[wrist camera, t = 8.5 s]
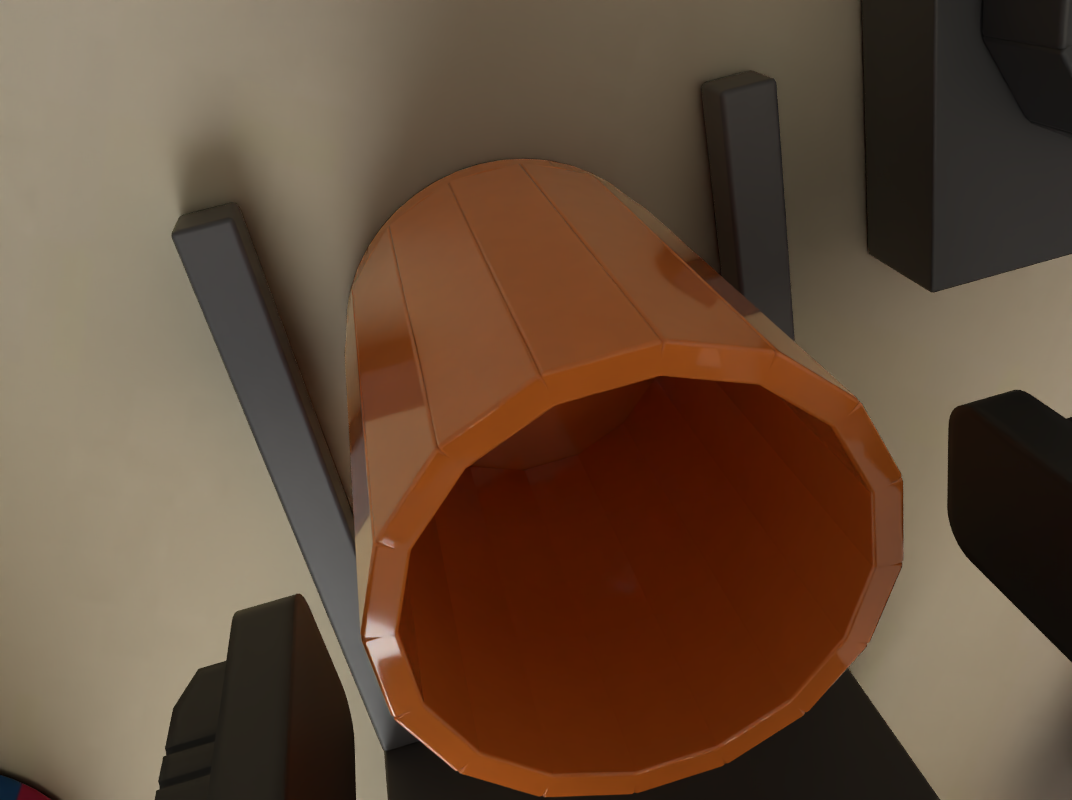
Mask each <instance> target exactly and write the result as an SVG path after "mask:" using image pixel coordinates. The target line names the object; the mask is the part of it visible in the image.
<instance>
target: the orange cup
mask: <svg viewBox="0 0 1072 800" xmlns="http://www.w3.org/2000/svg"><path fill="white" fill-rule="evenodd" d="M344 353H345V371H346V388H347V406H348V424H349V442H350V459H351V477H352V495H353V512H354V530H355V548H356V565H357V583H358V601H359V618H360V634H361V641H362V644H363V646H364V649H365V651H366V654H367V656H368V659H369V661H370V664H371V666H372V669H373V672H374V674H375V677H376V679H377V682H378V684H379V687H380V689H381V692H382V694H383V697H384V699H385V702H386V704H387V707H388V709H389V712H390V714H391V715H392V717H394V720H395V721H396V722H397V723H399V724H400V725H401V726H402V727H403V728H405V729H406V730H407V731H408V732H409V733H411V734H412V735H413V736H414V737H415V738H417V739H418V740H419V741H420V742H421V743H423V744H424V745H425V746H426V747H427V748H429V749H430V750H431V751H432V752H433V753H435V754H436V755H437V756H438V757H439V758H441V759H442V760H443V761H444V762H445V763H447V764H448V765H449V766H450V767H451V768H453V769H454V770H455V771H458V772H459V773H461V774H464V775H467V776H470V777H474V778H477V779H481V780H484V781H487V782H491V783H494V784H497V785H501V786H504V787H508V788H511V789H514V790H518V791H521V792H525V793H528V794H531V795H535V796H538V797H541V796H543V797H574V796H602V795H630V794H633V793H634V792H635V793H641V792H644V791H647V790H650V789H653V788H656V787H659V786H662V785H666V784H669V783H672V782H675V781H678V780H681V779H684V778H688V777H691V776H694V775H697V774H700V773H703V772H706V771H709V770H713V769H716V768H719V767H722V766H724V764H725V763H726V764H728V763H730V762H732V761H733V760H735V759H736V758H738V757H740V756H741V755H743V754H744V753H746V752H747V751H749V750H751V749H752V748H754V747H755V746H757V745H758V744H760V743H762V742H763V741H765V740H766V739H768V738H769V737H771V736H773V735H774V734H776V733H777V732H779V731H780V730H782V729H784V728H785V727H787V726H788V725H790V724H791V723H793V722H795V721H796V720H798V719H799V718H801V717H802V716H804V715H805V712H808V711H810V709H811V708H812V707H813V706H814V705H815V704H816V703H817V702H818V701H819V699H820V698H821V697H822V696H823V695H824V694H825V693H826V692H827V690H828V689H829V688H830V687H831V686H832V685H833V684H834V683H835V681H836V680H837V679H838V678H839V677H840V676H841V675H842V674H843V673H844V671H845V670H846V669H847V668H848V667H849V666H850V665H851V664H852V662H853V661H854V660H855V659H856V658H857V657H858V656H859V655H860V654H861V652H862V651H863V650H864V649H865V648H866V647H867V643H869V642H870V640H871V638H872V635H873V633H874V631H875V628H876V626H877V624H878V621H879V619H880V617H881V614H882V612H883V610H884V607H885V605H886V603H887V600H888V598H889V596H890V593H891V591H892V589H893V586H894V584H895V582H896V579H897V577H898V575H899V572H900V570H901V568H902V562H903V560H904V550H903V479H902V478H901V477H902V476H901V472H900V471H899V469H898V467H897V465H896V463H895V462H894V460H893V458H892V456H891V454H890V453H889V451H888V449H887V447H886V445H885V444H884V442H883V440H882V438H881V437H880V435H879V433H878V431H877V429H876V428H875V426H874V424H873V422H872V420H871V419H870V417H869V415H868V413H867V412H866V410H865V408H864V406H863V404H862V403H861V402H860V401H859V400H858V399H857V398H856V397H855V396H854V395H853V394H852V393H851V392H850V391H848V390H847V389H846V388H845V387H844V386H843V385H842V384H841V383H840V382H838V381H837V380H836V379H835V378H834V377H833V376H832V375H831V374H830V373H828V372H827V371H826V370H825V369H824V368H823V367H822V366H821V365H820V364H818V363H817V362H816V361H815V360H814V359H813V358H812V357H811V356H810V355H808V354H807V353H806V352H805V351H804V350H803V349H802V348H801V347H800V346H798V345H797V344H796V343H795V342H794V341H793V340H792V339H791V338H790V337H788V336H787V335H786V334H785V333H784V332H783V331H782V330H781V329H780V328H778V327H777V326H776V325H775V324H774V323H773V322H772V321H771V320H770V319H768V318H767V317H766V316H765V315H764V314H763V313H762V312H761V311H759V310H758V309H757V308H756V307H755V306H754V305H753V304H752V303H751V302H749V301H748V300H747V299H746V298H745V297H744V296H743V295H742V294H741V293H739V292H738V291H737V290H736V289H735V288H734V287H733V286H732V285H731V284H729V283H728V282H727V281H726V280H725V279H724V278H723V277H722V276H721V275H719V274H718V273H717V272H716V271H715V270H714V269H713V268H712V267H711V266H709V265H708V264H707V263H706V262H705V261H704V260H703V259H702V258H701V257H699V256H698V255H697V254H696V253H695V252H694V251H693V250H692V249H691V248H689V247H688V246H687V245H686V244H685V243H684V242H683V241H682V240H681V239H679V238H678V237H677V236H676V235H675V234H674V233H673V232H672V231H670V230H669V229H668V228H667V227H666V226H665V225H664V224H663V223H662V222H660V221H659V220H658V219H657V218H656V217H655V216H654V215H653V214H652V213H650V212H649V211H648V210H647V209H646V208H644V207H643V206H641V205H640V204H638V203H637V202H635V201H634V200H632V199H631V198H629V197H628V196H627V195H626V194H624V193H623V192H622V191H620V190H619V189H618V188H616V187H615V186H614V185H612V184H611V183H609V182H607V181H606V180H604V179H602V178H600V177H598V176H596V175H595V174H593V173H590V172H588V171H585V170H582V169H580V168H577V167H574V166H572V165H568V164H563V163H558V162H554V161H549V160H538V159H507V160H498V161H493V162H488V163H482V164H478V165H475V166H472V167H469V168H466V169H463V170H460V171H457V172H454V173H452V174H450V175H448V176H446V177H444V178H442V179H440V180H438V181H436V182H434V183H432V184H431V185H429V186H428V187H426V188H425V189H423V190H422V191H420V192H419V193H417V194H415V195H414V196H413V197H412V198H411V199H409V200H408V201H407V202H406V203H405V204H404V205H402V206H401V207H400V208H399V209H398V210H397V211H396V212H395V213H394V214H393V215H392V216H391V217H390V218H389V220H388V221H387V222H386V223H385V224H384V225H383V226H382V227H381V229H380V230H379V232H378V233H377V234H376V236H375V237H374V239H373V240H372V242H371V243H370V245H369V246H368V248H367V250H366V252H365V254H364V256H363V258H362V260H361V262H360V264H359V266H358V269H357V272H356V275H355V278H354V281H353V284H352V287H351V290H350V296H349V301H348V307H347V322H346V343H345V352H344Z"/></svg>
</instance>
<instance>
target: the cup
mask: <svg viewBox="0 0 1072 800" xmlns="http://www.w3.org/2000/svg"><path fill="white" fill-rule="evenodd" d="M0 800H51V799H50V798H48V797H47V796H45V795H44V794H42V793H40V792H39V791H37V790H36V789H34V788H31V787H29V786H27V785H25V784H23V783H21V782H18V781H16V780H14V779H12V778H9V777H5V776H2V775H0Z"/></svg>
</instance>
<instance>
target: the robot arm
mask: <svg viewBox="0 0 1072 800" xmlns="http://www.w3.org/2000/svg"><path fill="white" fill-rule="evenodd" d="M947 509H948V518H949V522H950V526H951V529H952V532H953V534H954V537H955V539H956V541H957V543H958V545H959V546H960V548H961V550H962V551H963V553H964V554H965V555H966V557H967V558H968V559H969V560H970V561H971V562H972V563H973V564H974V565H975V566H976V567H977V568H978V569H979V570H980V571H981V572H982V573H983V574H984V575H985V576H986V577H987V578H988V579H989V580H990V581H991V582H992V583H993V584H994V585H995V586H996V587H997V588H998V589H999V590H1000V591H1001V592H1002V593H1003V594H1004V595H1005V596H1006V597H1007V598H1008V599H1009V600H1010V601H1011V602H1012V603H1013V604H1014V605H1015V606H1016V607H1017V608H1018V609H1019V610H1020V611H1021V612H1022V613H1023V614H1024V615H1025V616H1026V617H1027V618H1028V619H1029V620H1030V621H1031V622H1032V623H1033V624H1034V625H1035V626H1036V627H1037V628H1038V629H1039V630H1040V631H1041V632H1042V633H1043V634H1044V635H1045V636H1046V637H1047V638H1048V639H1049V640H1050V641H1051V642H1052V643H1053V644H1054V645H1055V646H1056V647H1057V648H1058V649H1059V650H1060V651H1061V652H1062V653H1063V654H1064V655H1065V656H1066V657H1067V658H1068V659H1069V660H1070V661H1071V662H1072V417H1070V418H1067V419H1066V418H1064V417H1063V416H1061V415H1060V414H1058V413H1057V412H1055V411H1054V410H1052V409H1051V408H1049V407H1048V406H1046V405H1045V404H1043V403H1042V402H1040V401H1039V400H1038V399H1036V398H1035V397H1033V396H1032V395H1030V394H1028V393H1027V392H1025V391H1021V390H1013V391H1009V392H1006V393H1002V394H999V395H995V396H992V397H988V398H985V399H981V400H978V401H974V402H971V403H967V404H964V405H960V406H957V407H956V408H954V410H953V411H952V413H951V415H950V419H949V428H948V500H947ZM165 749H166V756H164V757H163V761H162V766H161V771H160V776H159V781H158V782H159V785H160V790H157V791H156V796H155V800H356V782H355V745H354V732H353V724H352V719H351V714H350V709H349V705H348V701H347V698H346V695H345V692H344V689H343V686H342V684H341V681H340V679H339V676H338V674H337V672H336V669H335V667H334V665H333V662H332V660H331V657H330V655H329V653H328V650H327V648H326V646H325V643H324V641H323V639H322V636H321V634H320V631H319V629H318V627H317V624H316V622H315V620H314V617H313V615H312V612H311V610H310V608H309V606H308V604H307V602H306V600H305V598H304V597H303V596H302V595H301V594H296V595H292V596H289V597H285V598H282V599H278V600H275V601H271V602H268V603H264V604H261V605H257V606H254V607H250V608H247V609H243V610H240V611H237V612H236V613H235V614H234V616H233V619H232V625H231V632H230V639H229V646H228V653H227V660H226V661H224V662H221V663H217V664H214V665H210V666H207V667H203V668H200V669H198V670H197V672H196V674H195V675H194V677H193V678H192V680H191V681H190V683H189V685H188V686H187V688H186V689H185V691H184V692H183V694H182V695H181V697H180V699H179V700H178V702H177V703H176V705H175V706H174V708H173V712H172V717H171V722H170V727H169V732H168V737H167V741H166V746H165Z"/></svg>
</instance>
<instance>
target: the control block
mask: <svg viewBox="0 0 1072 800" xmlns="http://www.w3.org/2000/svg"><path fill="white" fill-rule="evenodd" d="M862 15H863V54H864V93H865V132H866V170H867V209H868V248H869V254H870V255H872V256H873V257H875V258H876V259H878V260H880V261H881V262H883V263H885V264H886V265H888V266H889V267H891V268H893V269H894V270H896V271H898V272H899V273H901V274H902V275H904V276H906V277H907V278H909V279H911V280H912V281H914V282H915V283H917V284H919V285H920V286H922V287H923V288H925V289H927V290H928V291H930V292H937V291H941V290H944V289H948V288H951V287H955V286H958V285H962V284H966V283H969V282H973V281H976V280H980V279H983V278H987V277H991V276H994V275H998V274H1001V273H1005V272H1008V271H1012V270H1016V269H1019V268H1023V267H1026V266H1030V265H1033V264H1037V263H1040V262H1044V261H1048V260H1051V259H1055V258H1058V257H1062V256H1065V255H1069V254H1072V0H862Z"/></svg>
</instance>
